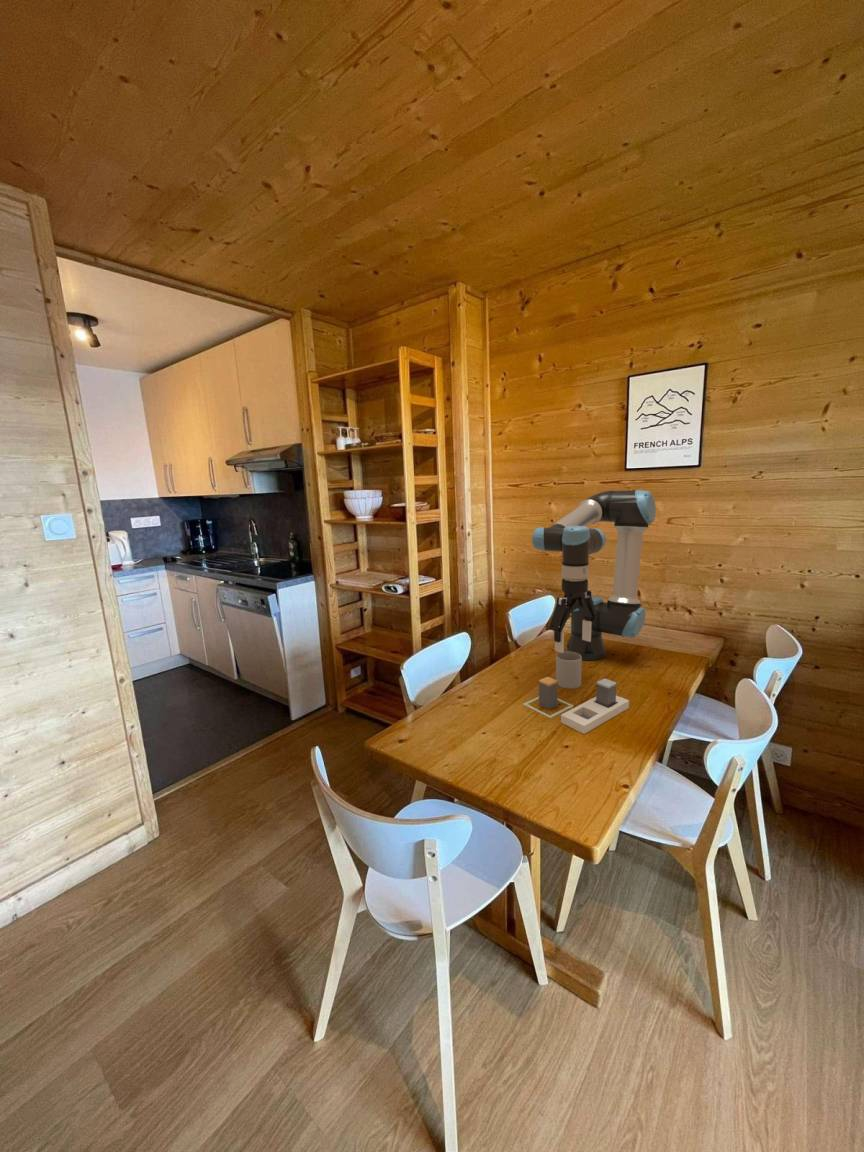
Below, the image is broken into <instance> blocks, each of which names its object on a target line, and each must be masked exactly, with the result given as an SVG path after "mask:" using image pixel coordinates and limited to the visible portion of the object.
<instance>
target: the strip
mask: <svg viewBox="0 0 864 1152" xmlns="http://www.w3.org/2000/svg"><path fill="white" fill-rule="evenodd" d="M629 708H630V699H629V700H628V699H626V698H624V697H622V696H620V695H619V696H618V695H617V694H616V704H615V705H613V706H611V707H609V708H607V707H605V706H602V705H600V704H598V703H596V696H595V697H592V698H591V699H589V700H587V701H585V702H583V703H580V704H578V705H577V706H575V707H574V708H573V707H572V708H570V710H569V709H568V710H566V712H565V711H564V712H562V713H561V714H560V723H561V724H563V725H564V726H566V727H569V728H571V729H573V730H575V731H577V732H579V733H581V734H583V735H585V734H587V733H589V732H590V731H592V730H594V729H596V728H597V727H600V726H601V725H602V724H605V723H606V722H607V721H610V720H611V719H612V718H614V717H616V716H618V715H620V714H622V713H623V712H625V711H626V710H629Z"/></svg>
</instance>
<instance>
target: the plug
mask: <svg viewBox="0 0 864 1152" xmlns="http://www.w3.org/2000/svg"><path fill="white" fill-rule="evenodd" d="M558 690H559V689H558V681H557V680H556V678H552V677H549V676H546V677H544V678H541V679H539V680H538V697H539V699H538V706H540V707H542V708H544V709H546V710H548V711H549V710H552V709H554V708H556V707H558V704H559V701H558V699H559V698H558V694H559V693H558Z"/></svg>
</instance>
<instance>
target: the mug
mask: <svg viewBox="0 0 864 1152" xmlns="http://www.w3.org/2000/svg"><path fill="white" fill-rule="evenodd" d="M582 665H583V660H582V657H581V655H580V654H578V653H575V652H570V651H566V650H564V652H563V653H560V652H557V653H556V656H555V680H557V681H558V686H559V687H560V688H565V689H569V690H570V689H578V688H580V687H581V685H582Z"/></svg>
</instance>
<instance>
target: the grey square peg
mask: <svg viewBox="0 0 864 1152" xmlns="http://www.w3.org/2000/svg"><path fill="white" fill-rule="evenodd" d="M595 690H596V695H595V697H596V703H598V704H600V705H602V706H605V707H607V708H609V707H611V706H613V705H615V704H616V695H617V682H615V681H613V680H611V679H608V678H606V677H604V678H603V679H600V680H598V681H596V689H595Z"/></svg>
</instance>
